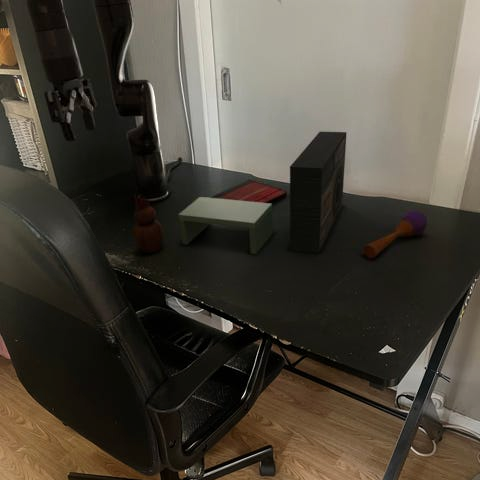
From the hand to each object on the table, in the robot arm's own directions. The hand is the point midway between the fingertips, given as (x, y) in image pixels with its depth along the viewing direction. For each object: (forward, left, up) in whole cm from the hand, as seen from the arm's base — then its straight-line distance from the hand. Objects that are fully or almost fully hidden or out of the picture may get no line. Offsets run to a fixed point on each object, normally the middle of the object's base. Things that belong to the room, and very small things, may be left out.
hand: (81, 135), depth 109 cm
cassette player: (-25, +49, -28) cm, 61 cm away
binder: (-37, +24, -28) cm, 52 cm away
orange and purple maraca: (-20, +69, -28) cm, 77 cm away
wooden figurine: (-1, +13, -28) cm, 30 cm away
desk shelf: (-12, +29, -27) cm, 41 cm away
